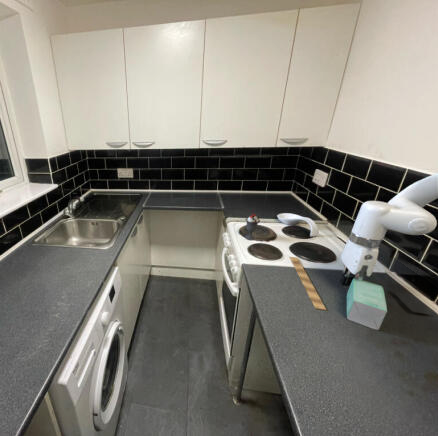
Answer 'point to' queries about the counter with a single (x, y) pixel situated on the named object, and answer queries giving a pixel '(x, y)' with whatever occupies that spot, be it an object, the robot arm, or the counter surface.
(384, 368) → the counter surface
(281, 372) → the counter surface
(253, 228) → the sundae
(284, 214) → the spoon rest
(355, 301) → the box
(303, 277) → the strip
